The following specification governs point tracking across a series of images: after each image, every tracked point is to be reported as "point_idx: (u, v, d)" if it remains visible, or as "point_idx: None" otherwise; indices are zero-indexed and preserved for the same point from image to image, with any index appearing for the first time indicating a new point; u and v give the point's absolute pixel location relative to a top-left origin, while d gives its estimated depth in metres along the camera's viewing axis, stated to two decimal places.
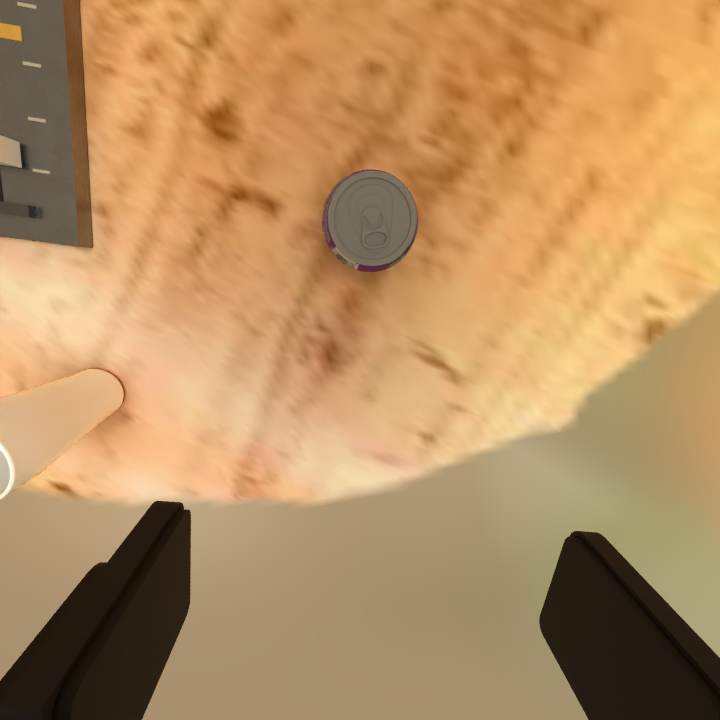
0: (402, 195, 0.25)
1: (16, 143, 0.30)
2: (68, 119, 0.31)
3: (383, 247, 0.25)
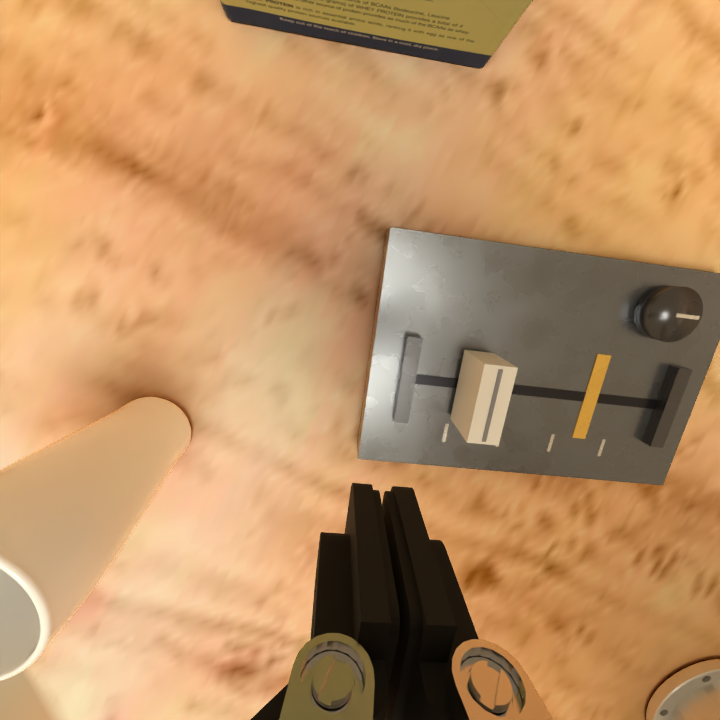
0: None
1: None
2: (496, 469, 0.27)
3: None
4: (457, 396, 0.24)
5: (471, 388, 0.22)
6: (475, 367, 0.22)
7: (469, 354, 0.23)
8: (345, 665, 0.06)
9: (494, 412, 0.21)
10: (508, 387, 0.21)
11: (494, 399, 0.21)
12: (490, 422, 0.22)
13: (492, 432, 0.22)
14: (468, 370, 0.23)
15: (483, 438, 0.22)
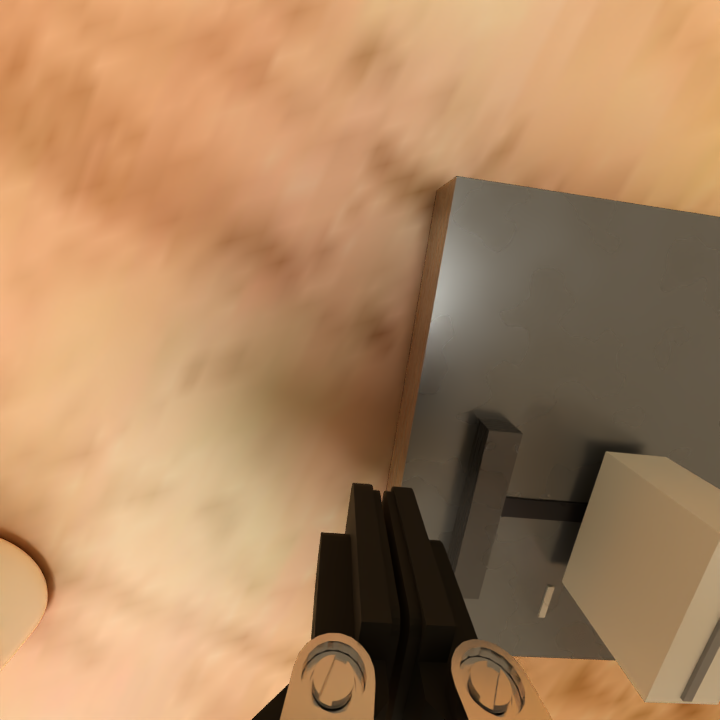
0: None
1: None
2: None
3: None
4: (588, 548, 0.11)
5: (650, 563, 0.09)
6: (666, 519, 0.09)
7: (629, 472, 0.10)
8: (346, 666, 0.06)
9: None
10: None
11: None
12: (709, 661, 0.09)
13: (708, 678, 0.09)
14: (628, 508, 0.10)
15: (687, 695, 0.09)
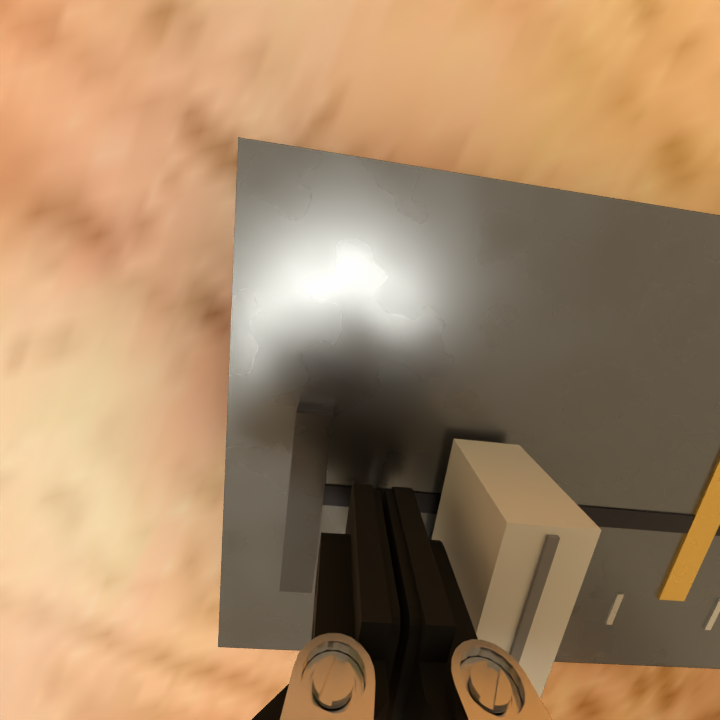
0: None
1: None
2: None
3: None
4: None
5: (468, 555, 0.09)
6: (479, 507, 0.08)
7: (464, 459, 0.10)
8: (346, 666, 0.06)
9: (530, 636, 0.08)
10: (572, 578, 0.08)
11: (531, 606, 0.08)
12: (519, 659, 0.08)
13: None
14: (460, 496, 0.10)
15: None
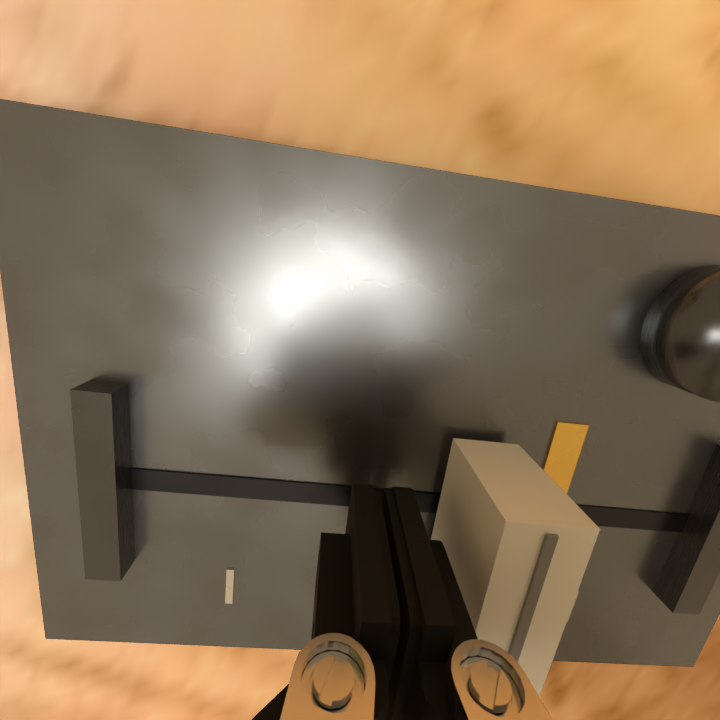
0: None
1: None
2: None
3: None
4: None
5: (467, 554, 0.09)
6: (478, 507, 0.08)
7: (463, 458, 0.10)
8: (346, 666, 0.06)
9: (529, 635, 0.08)
10: (571, 577, 0.08)
11: (529, 605, 0.08)
12: (518, 657, 0.08)
13: None
14: (460, 496, 0.10)
15: None
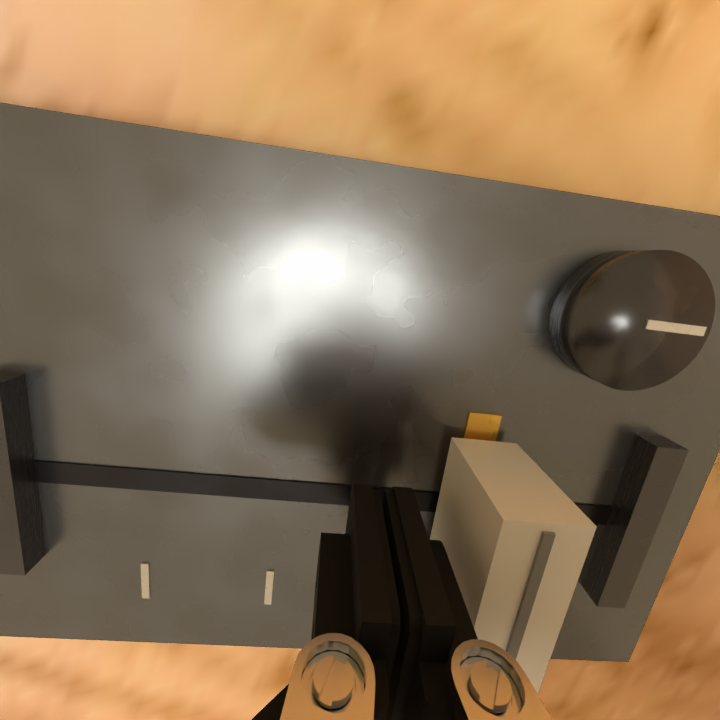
0: None
1: None
2: (277, 644, 0.13)
3: None
4: (436, 539, 0.11)
5: (466, 553, 0.09)
6: (476, 505, 0.08)
7: (461, 458, 0.10)
8: (346, 666, 0.06)
9: (527, 632, 0.08)
10: (568, 574, 0.08)
11: (527, 602, 0.08)
12: (516, 655, 0.08)
13: None
14: (458, 495, 0.10)
15: None
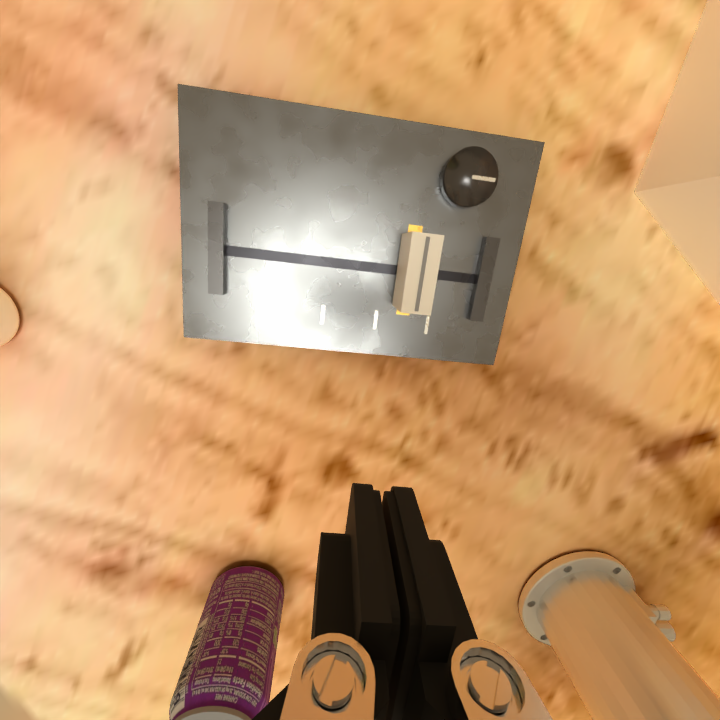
0: None
1: None
2: (325, 348, 0.28)
3: None
4: (397, 279, 0.26)
5: (404, 262, 0.24)
6: (407, 241, 0.23)
7: (404, 234, 0.24)
8: (345, 666, 0.06)
9: (424, 281, 0.23)
10: (437, 255, 0.22)
11: (423, 267, 0.23)
12: (421, 291, 0.23)
13: (423, 301, 0.23)
14: (403, 248, 0.24)
15: (415, 308, 0.23)
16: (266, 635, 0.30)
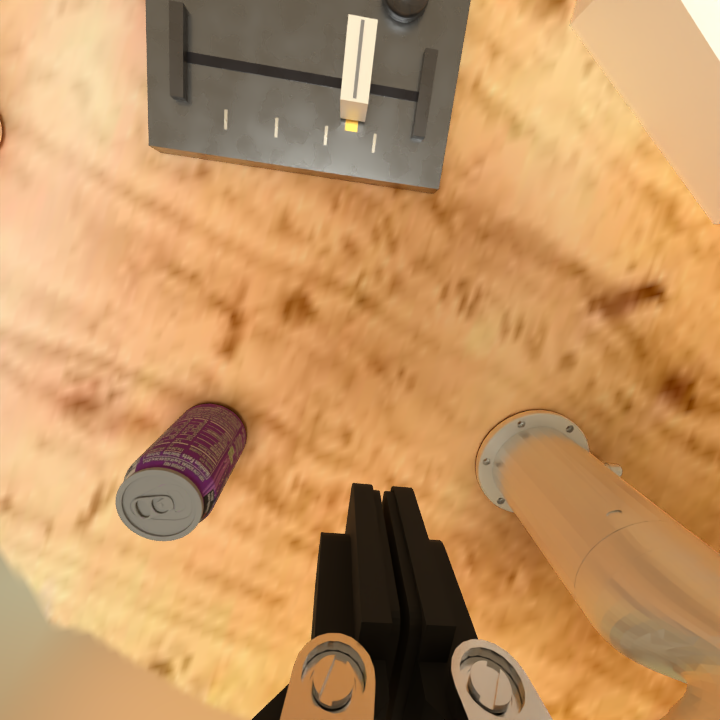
0: (185, 526, 0.27)
1: (363, 120, 0.29)
2: (279, 163, 0.30)
3: (136, 515, 0.27)
4: None
5: None
6: None
7: None
8: (346, 666, 0.06)
9: (361, 67, 0.25)
10: (371, 40, 0.25)
11: (359, 52, 0.25)
12: (358, 77, 0.25)
13: (361, 88, 0.25)
14: None
15: (353, 94, 0.25)
16: (221, 444, 0.32)
